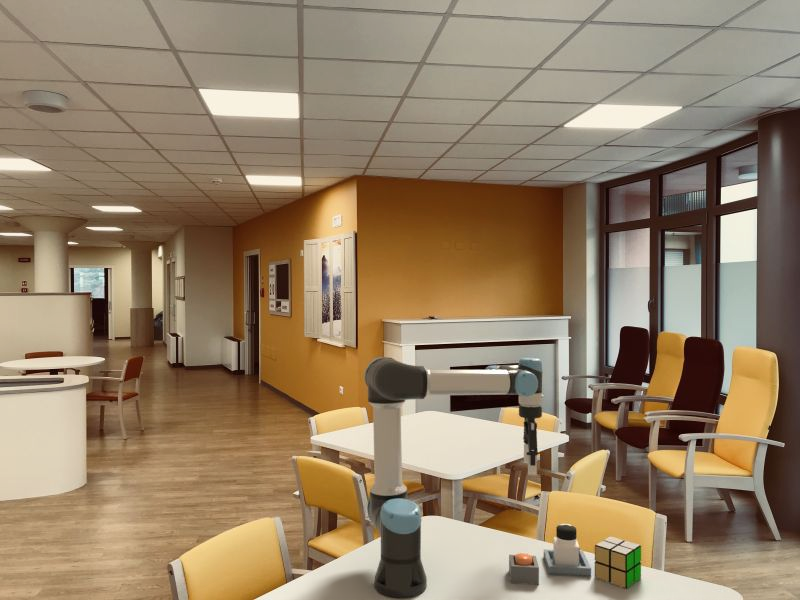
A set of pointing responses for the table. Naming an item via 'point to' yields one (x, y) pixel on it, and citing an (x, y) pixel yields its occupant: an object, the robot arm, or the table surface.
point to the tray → (567, 570)
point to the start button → (523, 559)
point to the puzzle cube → (618, 561)
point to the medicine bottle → (566, 546)
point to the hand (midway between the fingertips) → (530, 468)
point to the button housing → (524, 572)
